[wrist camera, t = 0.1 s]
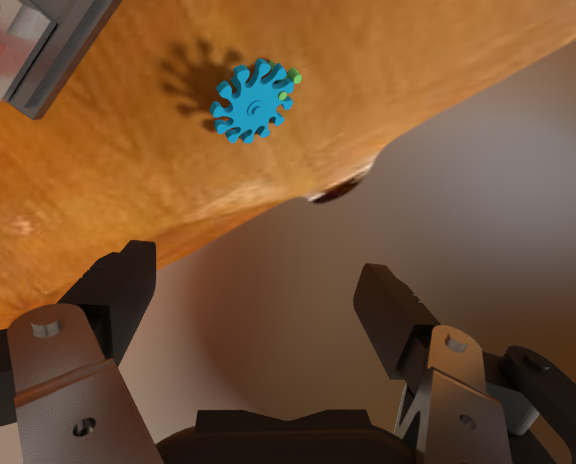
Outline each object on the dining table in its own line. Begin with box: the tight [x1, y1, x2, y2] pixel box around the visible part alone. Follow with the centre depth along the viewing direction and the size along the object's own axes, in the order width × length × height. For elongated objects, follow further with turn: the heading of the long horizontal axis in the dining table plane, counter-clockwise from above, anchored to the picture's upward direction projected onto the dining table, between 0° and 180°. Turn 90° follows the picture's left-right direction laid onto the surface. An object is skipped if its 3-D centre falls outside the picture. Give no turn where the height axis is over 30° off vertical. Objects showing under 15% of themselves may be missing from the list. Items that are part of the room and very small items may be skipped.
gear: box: [210, 58, 302, 143], centre depth 33 cm, size 11×6×10 cm
